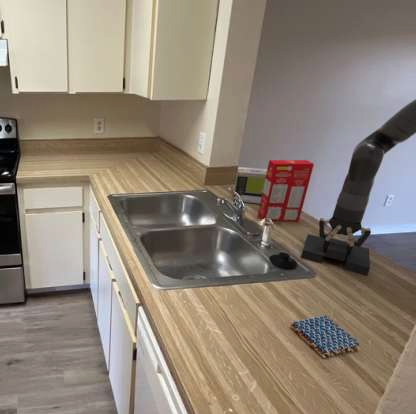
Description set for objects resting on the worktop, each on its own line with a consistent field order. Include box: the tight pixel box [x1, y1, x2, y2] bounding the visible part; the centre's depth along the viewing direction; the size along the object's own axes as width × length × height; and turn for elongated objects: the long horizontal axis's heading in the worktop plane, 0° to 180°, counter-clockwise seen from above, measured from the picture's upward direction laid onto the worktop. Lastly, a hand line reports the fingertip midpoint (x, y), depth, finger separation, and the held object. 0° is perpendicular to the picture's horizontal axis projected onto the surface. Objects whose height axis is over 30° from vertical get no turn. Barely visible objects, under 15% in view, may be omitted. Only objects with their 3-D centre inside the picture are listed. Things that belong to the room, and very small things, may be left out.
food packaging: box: [257, 159, 315, 223], centre depth 135 cm, size 15×5×25 cm, turn 88°
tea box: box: [233, 166, 267, 205], centre depth 157 cm, size 15×10×15 cm
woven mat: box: [289, 315, 360, 359], centre depth 79 cm, size 10×11×2 cm
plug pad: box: [325, 237, 349, 262], centre depth 109 cm, size 5×9×3 cm, turn 144°
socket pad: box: [300, 233, 371, 276], centre depth 112 cm, size 18×14×3 cm
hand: (335, 251), depth 110 cm, fingers closed on plug pad, 5 cm apart
